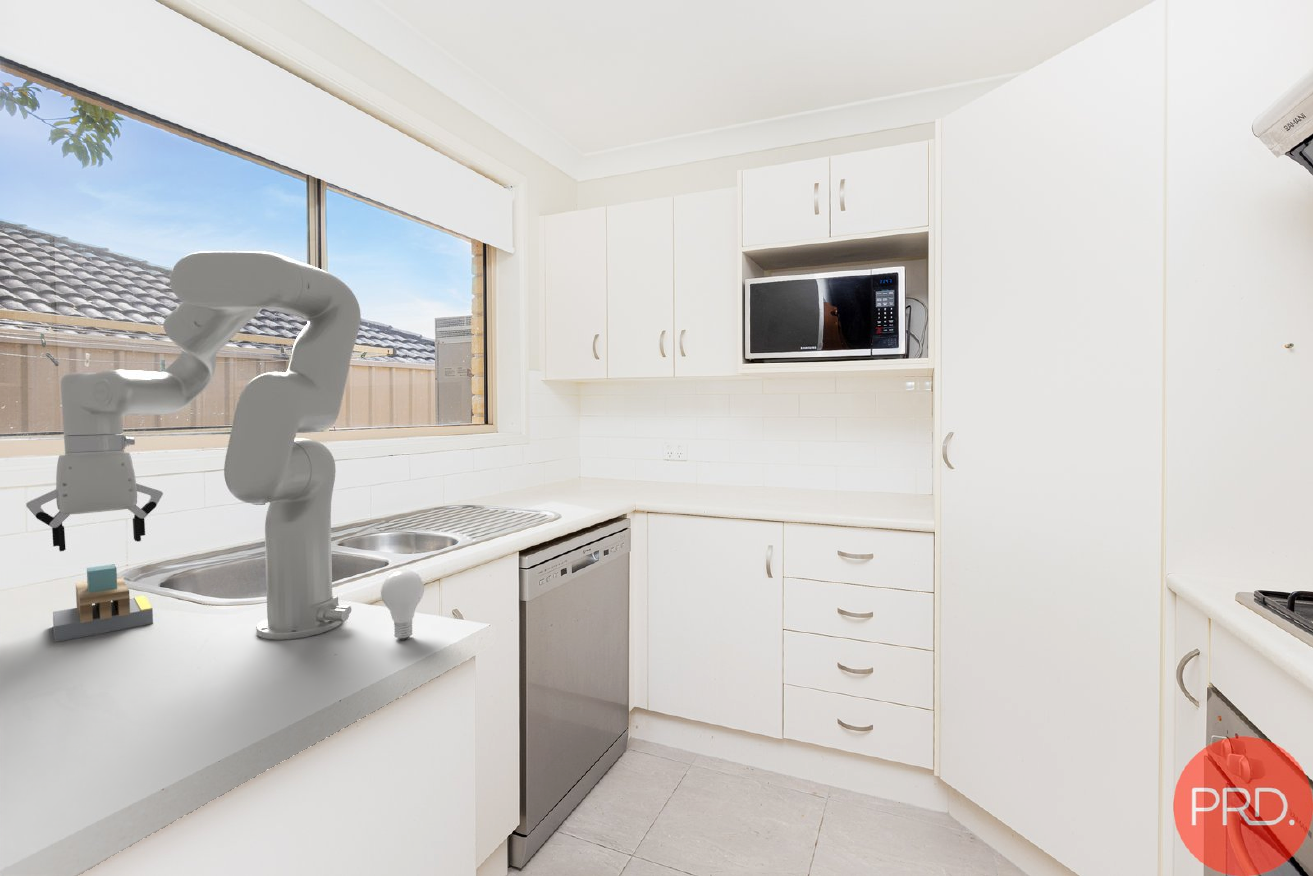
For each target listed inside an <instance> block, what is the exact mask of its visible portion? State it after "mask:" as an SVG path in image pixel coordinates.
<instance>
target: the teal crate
mask: <svg viewBox="0 0 1313 876" xmlns="http://www.w3.org/2000/svg"><path fill="white" fill-rule="evenodd" d="M117 572H118V571H117V567H116V564H105V565H98V566H91V567H86V582H87V586H88V591H89V593H91V592H98V591H104V590H111V589H117V577H118V575H117V574H118V573H117Z"/></svg>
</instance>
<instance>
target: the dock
mask: <svg viewBox="0 0 1313 876" xmlns="http://www.w3.org/2000/svg"><path fill="white" fill-rule="evenodd" d="M111 611H112V618H107V619H101V620H100V617H99V615H98V612H97V609H96V606H95V604H92V614H93V621H90V622H85V623H81V622H80V618H79V614H78V610H77V607H73V608H68V609H67V608H66V609H61V610H55V611H52V622H53V623H52V624H53V626H52V627H53V637H54V642H55V643H56V642H57V643H58V642H63V641H68V640H69V641H70V640H73V639H79V638H83V637H88V636H93V635H100V634H104V633H109V632H114V631H119V630H125V629H129V628H135V627H142V626H145V625H151V624H154V616H153V615H154V613H153V606H152V605H151V603H150V602H149V600H148V598H147V596H146V595H139V596H134V597H133V598H130V614H129V615H124V616H119V615H118V613H117V611H116V608H115V606H114V604H113V602H112V601H111Z"/></svg>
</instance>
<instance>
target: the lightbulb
mask: <svg viewBox="0 0 1313 876" xmlns="http://www.w3.org/2000/svg"><path fill="white" fill-rule="evenodd" d="M424 592H425V585H424V581H423V580H422V578H421V577H420V575H419V574H418V573H416V572H414V571H412V570H410V569H409V570H408V569H399V570H396V571H393V572H392V573H390V574H389V575H387V577H386V578H385V579H384V581H383V583H382V584H381V587H380V597H381V600H382V602H383V604H384V606H385V607H387V609H388V610H389V611H390V615H391V619H392V621H393V625H394V626H393V628H394V631H393V632H394V634H393V636H394V637H395V638H397V639H398V640H406V639H408V638H410V637H411V636H412V635H413V619H414V616H415V613H416V609H417V607H418V605H419V603H420V602H421V600H422V599H423V596H424Z"/></svg>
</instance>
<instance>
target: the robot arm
mask: <svg viewBox="0 0 1313 876" xmlns="http://www.w3.org/2000/svg"><path fill="white" fill-rule="evenodd" d="M169 276H170V277H169V284H170V288H171V290H172V293H173V294H174V295H175V296H176V298H177V299H179V300H180V301H181V303H180V304H179V305H178V306H176V307H175V308H174V309H173V311H172V312H170V313H169V314H168V315H167V316H166V317H165V318H164V321H163V324H162V325H163V330H164V333H166V335H167V336H168V338H169V340H171V342H172V343H174V345H176V346H177V347H178V348H179V349H180V350H181V352H180V354H179V356H177V357H176V358H175V360H174V361H173V362H172V363H171V364H170V365H169V366H168V367H167V368H165V369H164V370H163V371H160V372H159V371H147V370H146V371H145V370H129V369H128V370H127V369H126V370H125V369H110V370H103V371H99V372H70V373H66V374H65V375H63V376H62V378H61V379H60V380H61V381H60V392H61V394H60V395H61V397H60V398H61V410H62V425H63V439H64V442H63V443H64V454H60V455H59V456H58V459H57V465H56V472H55V473H56V476H55V479H56V481H55V484H56V485H55V486H56V488H55V489H53V490H51V491H49V492H46V493H45V494H42V495H40V496H38V497H36V498H34V499H32V500H29V501H27V502H26V505H25V506H26V508H27V509H28V510H29V511H30V512H31V514H33V516H34V517H35V518H36V519H37V520H38V521H41V522H42V523H44V524H46V525H48V526H49V527H50V528H51V532H52V547H58V550H59V552H64V551H66V550H67V549H66V536H65V535H66V534H65V526H64V525H63V522H65V520H66V519H67V518H69V517H70V515H80V514H81V515H82V514H92V513H102V512H113V511H121V510H128V511H130V512H131V513H133V518H132V531H133V540H134V541H135V542H142V537H141V536H146V523H145V522H146V521H145V518H146V517H147V516H148V515H149V514H150V513H151V512H152V511H154V510H155V508H157V505H158V504H159V502H160V500H161V498H162V497H163V494H164V493H163V491H161V490H158V489H155V488H153V487H149V486H146V485H143V484H140V483H137V481H136V475H135V469H134V463H133V460H132V455H131V454H130V453H131V452H129V451H125V450H126V449H125V448H127V447H129V446H135V444H136V443H135V442H136V441H135V437H129V436H125V433H124V422H123V416H140V415H141V416H143V415H144V416H147V415H148V416H149V415H150V416H151V415H153V416H155V415H156V416H157V415H158V416H159V415H160V416H161V415H162V416H163V415H172V414H175V413H178V412H180V411H181V410H183V409H184V408H186V407H188V406H189V405H190V404H191V403H192V402H193V401H194V400H195V399H197V397H199V395H201V394H202V393H203V392H204V391H205V390H206V389H207V388H208V386H209V385H210V384H211V382H212V380H213V377H214V375H215V370H216V366H217V358H216V357H217V354H218V352H219V351H220V350H221V349H222V348H224V346H226V345H227V344H228V342H229V341H231V340H232V339H233V338H234V337H235V336H236V335H237V334H238V333H239V332H240V331H241V330H242V329H243V328H245V326H246V325H247V324H248V323H249V322H250V321H252V320H253V319H254V318H255V316H257V315H258V314H259V313H260V312H261V310H268V311H273V312H277V313H282V314H286V315H289V316H290V315H291V316H295V317H299V318H303V319H305V320H306V322H307V324H306V325H305V326H304V327H303V329H302V330H301V331H300V333H299V334H298V336H297V337H296V339H295V341H294V344H293V347H292V350H291V356H290V360H289V364H288V368H287V370H286V372H282V371H279V372H278V371H272V372H266V373H263V374H260V375H258V376H256V377H254V378H253V379H251V380H250V381H248V383H247V384H246V386H245V387H244V388H243V389H242V392H241V393H240V395H239V397H238V400H237V404H236V407H235V412H234V416H233V420H232V424H231V425H232V426H231V429H230V430H231V431H230V436H229V440H228V445H227V447H226V448H227V449H226V455H225V458H224V459H225V460H224V466H223V467H224V468H223V471H224V472H223V476H224V481H225V485H226V486H227V489H228V490H229V492H230V494H232V496H234V497H235V498H236V499H238V500H239V501H240V502H244V503H246V504H254V505H255V504H257V505H258V504H268V503H269V505H268V509H267V511H266V515H265V524H264V544H265V546H264V548H265V551H264V552H265V576H266V577H265V579H266V581H265V583H266V585H265V586H266V610H267V612H266V613H267V615H266V617H267V618H266V619H263V620H261V621H260V622H259V623H258V624H257V625H256V629H255V631H256V632H255V633H256V635H257V636H258V637H260V638H262V639H266V640H277V641H278V640H293V639H301V638H306V637H307V638H308V637H312V636H315V635H320V634H322V633H325V632H328V631H330V630H334V629H335V628H337V627H338V626H339V625H341V624H342V623H343V622H347V621H348V619H349V617H350V614H351V613H352V606H350V605H340V604H339V596H334V595H333V569H332V566H333V564H332V562H333V561H332V499H333V493H334V492H333V491H334V487H335V482H336V479H335V478H336V472H337V471H336V462H335V458H334V456H333V454H332V452H331V450H330V449H329V448H327V447H326V446H325V445H324V444H322V443H321V442H319V441H317V440H314V439H310V438H300V437H299V438H298V437H296V435H297V434H309V433H317V432H322V431H325V430H327V429H330V428H331V427H332V426H333V425H335V423H336V421H337V419H338V417H339V414H340V412H341V411H340V410H341V407H342V403H343V398H344V393H345V389H346V385H347V379H348V376H349V370H350V364H351V359H352V355H353V352H354V347H355V345H356V342H357V339H358V334H359V331H360V327H361V320H362V318H361V314H362V313H361V307H360V304H359V302H358V299H357V297H356V295H355V293H354V292H353V291H352V290H351V288H350V287H349V286H348V285H347V284H346V283H345V282H343V281H342V280H341V279H339V278H338V277H336V276H335V275H333V274H331V273H330V272H327V271H325V270H323V269H320V268H318V267H315V266H313V265H310V264H307V263H304V262H300V261H297V260H295V259H293V258H290V257H287V256H284V255H281V254H278V253H274V252H267V251H217V250H216V251H209V250H208V251H198V252H192V253H189V254H187V255H185V256H184V257H182V258H181V259H179V260H178V261H177V262H176V263H175V264H174V266H173V267H172V270H171V272H170V275H169ZM138 492H139V493H142V494H145V495H148V496H150V498H149V500H148V502H147V503H145V504H144V505H143V506H142V507H141V508H140V507H139V506H138V505H137V504H138ZM55 499H56V507H57V509H58V511H57V513H56V514H55V515H54V516H52V515H50V514H49V513H47V512H45V511H44V510H43V508H42V506H43V505H44V504H46V503H48V502H51V501H53V500H55Z"/></svg>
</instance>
